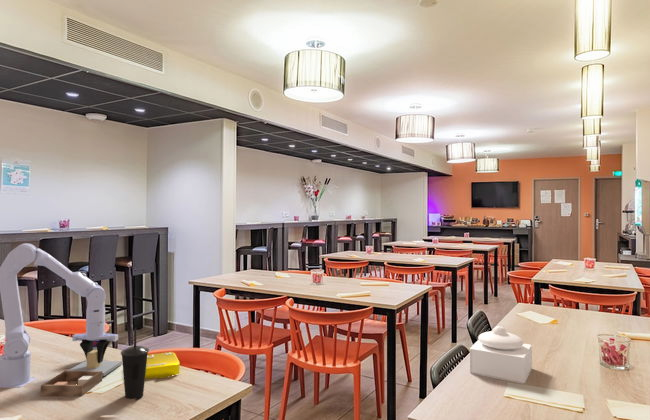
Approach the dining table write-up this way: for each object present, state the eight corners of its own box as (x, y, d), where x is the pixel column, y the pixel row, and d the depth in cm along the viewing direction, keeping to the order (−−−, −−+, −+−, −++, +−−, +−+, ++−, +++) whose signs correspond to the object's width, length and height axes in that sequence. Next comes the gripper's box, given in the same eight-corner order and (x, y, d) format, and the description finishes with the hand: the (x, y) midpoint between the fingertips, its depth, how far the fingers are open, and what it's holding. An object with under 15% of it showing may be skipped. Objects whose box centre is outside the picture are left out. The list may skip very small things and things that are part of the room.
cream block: (77, 386, 136) (78, 379, 136) (83, 382, 139) (83, 375, 139) (87, 386, 136) (87, 379, 136) (92, 382, 139) (92, 376, 139)
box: (40, 397, 129) (40, 385, 129) (64, 381, 141) (64, 370, 141) (81, 397, 129) (81, 385, 129) (102, 382, 141) (102, 371, 141)
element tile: (131, 383, 141) (132, 368, 141) (129, 369, 154) (129, 355, 155) (180, 376, 148) (180, 362, 148) (174, 363, 161) (174, 349, 161)
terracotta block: (51, 393, 131) (51, 385, 131) (57, 389, 134) (57, 381, 134) (61, 393, 131) (61, 385, 131) (67, 389, 134) (67, 381, 134)
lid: (63, 375, 143) (64, 357, 143) (85, 363, 156) (85, 346, 156) (103, 376, 143) (104, 357, 143) (121, 363, 156) (122, 346, 156)
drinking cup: (153, 393, 132) (154, 327, 133) (135, 404, 125) (136, 333, 125) (133, 390, 135) (134, 324, 135) (114, 400, 128) (115, 331, 128)
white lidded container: (531, 369, 158) (532, 324, 158) (524, 385, 143) (524, 336, 143) (481, 359, 168) (481, 318, 168) (469, 374, 152) (469, 328, 153)
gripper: (67, 324, 146) (66, 365, 146) (111, 325, 146) (110, 366, 146) (79, 319, 153) (78, 358, 153) (121, 320, 153) (120, 359, 153)
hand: (94, 361), depth 150 cm, fingers closed on lid, 3 cm apart
